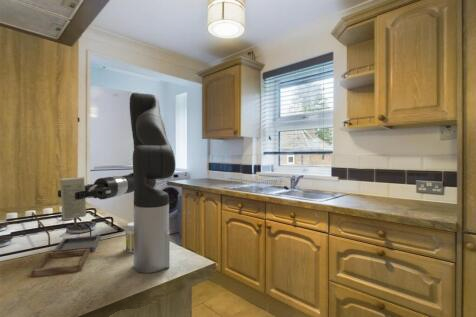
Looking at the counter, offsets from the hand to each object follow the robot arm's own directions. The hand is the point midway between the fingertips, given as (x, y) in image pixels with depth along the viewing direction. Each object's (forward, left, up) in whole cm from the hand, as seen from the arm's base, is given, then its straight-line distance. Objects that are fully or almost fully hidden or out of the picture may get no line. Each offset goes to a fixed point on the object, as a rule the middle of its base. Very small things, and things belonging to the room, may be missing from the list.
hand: (67, 195), depth 80 cm
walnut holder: (-1, +9, -18) cm, 20 cm away
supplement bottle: (-19, +4, -18) cm, 27 cm away
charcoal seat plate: (-2, -3, -18) cm, 18 cm away
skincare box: (-1, -2, -7) cm, 8 cm away
